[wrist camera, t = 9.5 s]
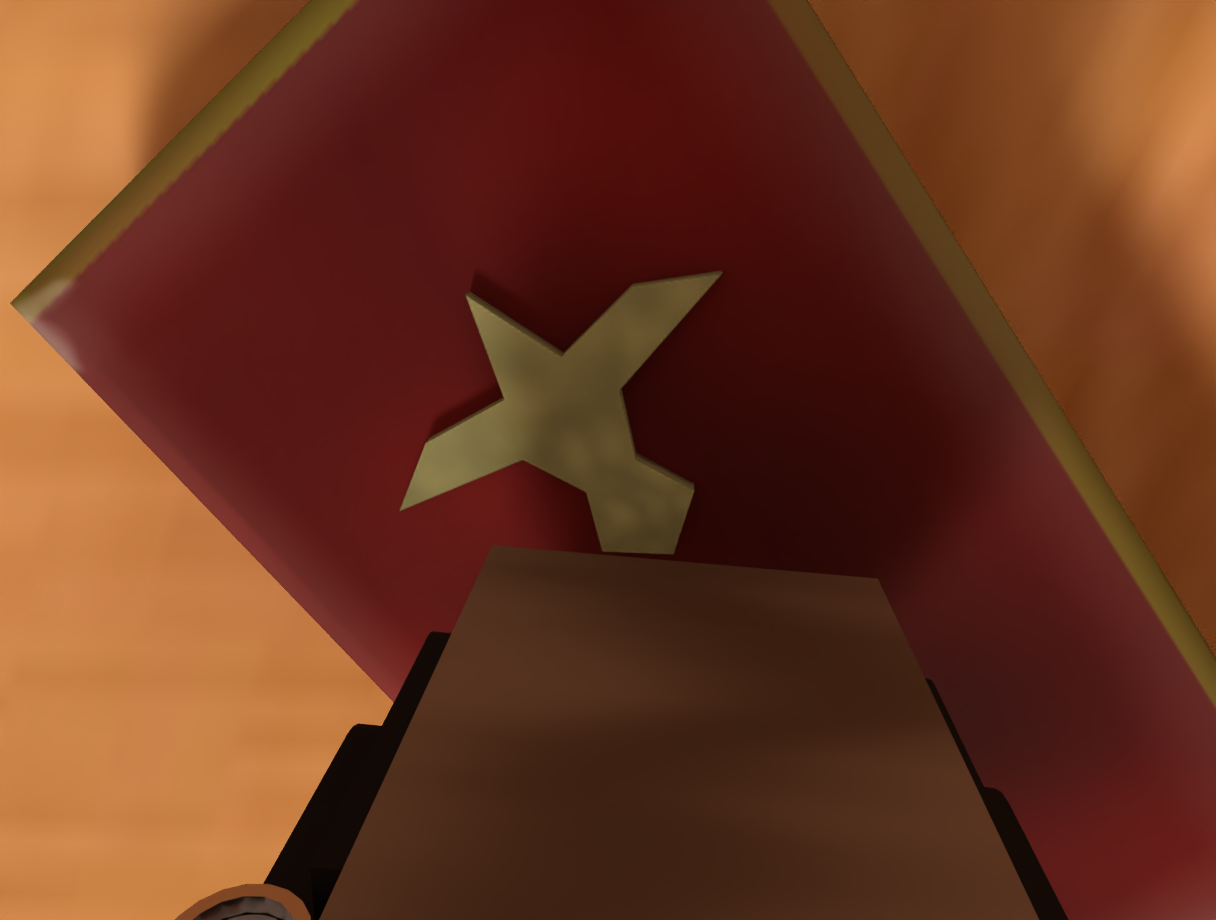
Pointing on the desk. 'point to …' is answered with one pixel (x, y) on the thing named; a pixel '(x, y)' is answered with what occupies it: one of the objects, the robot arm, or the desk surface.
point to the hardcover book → (640, 376)
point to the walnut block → (676, 758)
